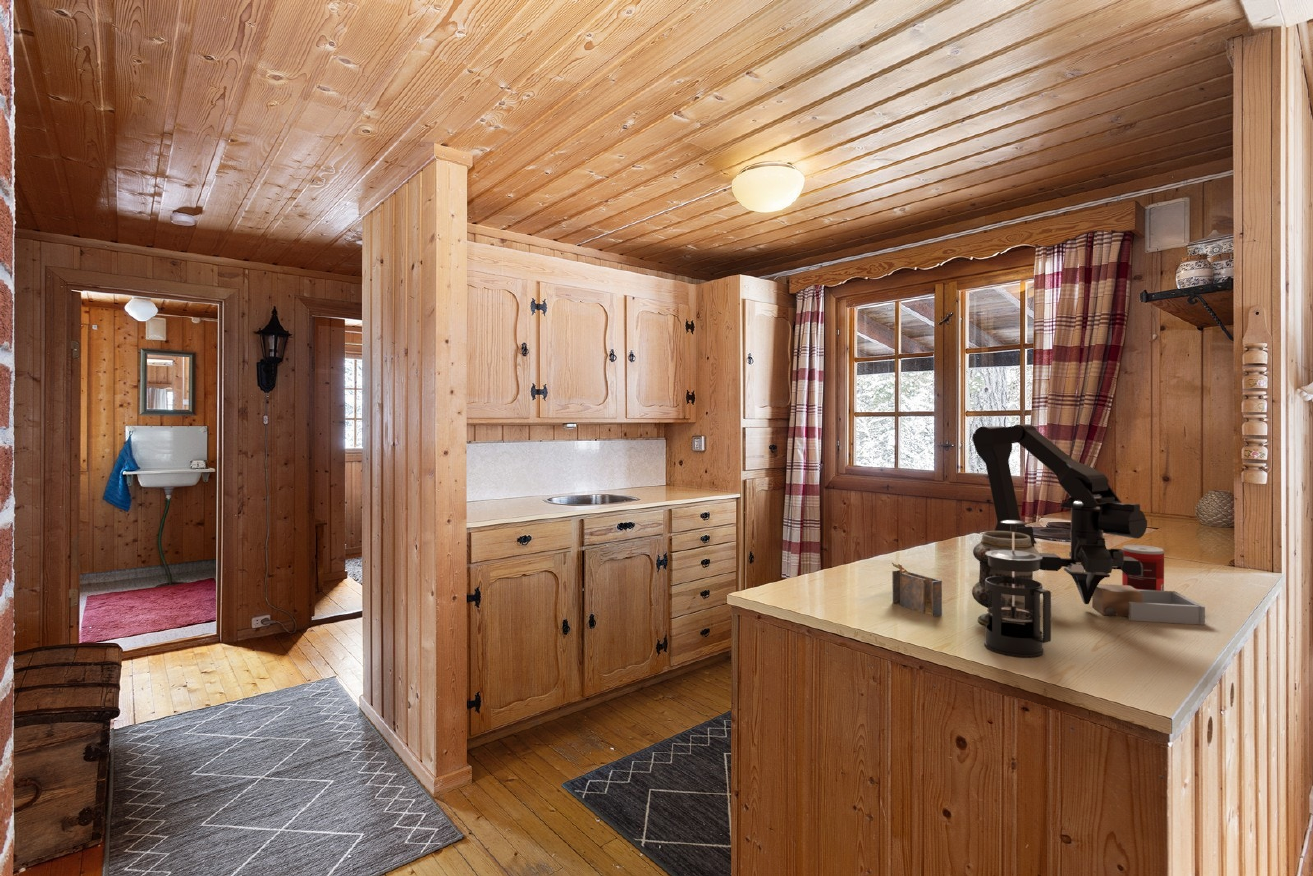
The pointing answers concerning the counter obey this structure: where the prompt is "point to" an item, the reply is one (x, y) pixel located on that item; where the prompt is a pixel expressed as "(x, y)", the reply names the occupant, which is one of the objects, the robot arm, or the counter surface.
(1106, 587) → the brown toy brick
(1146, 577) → the canned food
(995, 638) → the french press
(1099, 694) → the counter surface
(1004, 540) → the apothecary jar
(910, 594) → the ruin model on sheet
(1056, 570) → the robot arm
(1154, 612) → the dock
